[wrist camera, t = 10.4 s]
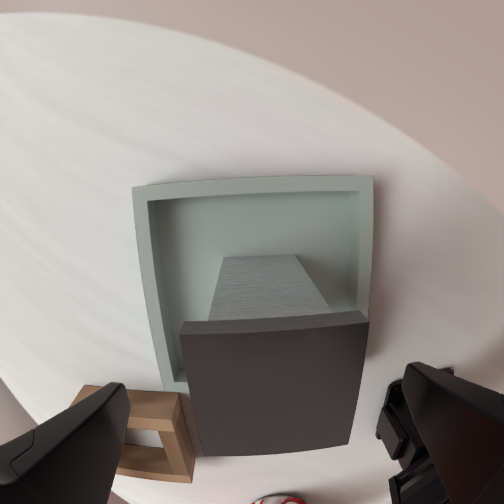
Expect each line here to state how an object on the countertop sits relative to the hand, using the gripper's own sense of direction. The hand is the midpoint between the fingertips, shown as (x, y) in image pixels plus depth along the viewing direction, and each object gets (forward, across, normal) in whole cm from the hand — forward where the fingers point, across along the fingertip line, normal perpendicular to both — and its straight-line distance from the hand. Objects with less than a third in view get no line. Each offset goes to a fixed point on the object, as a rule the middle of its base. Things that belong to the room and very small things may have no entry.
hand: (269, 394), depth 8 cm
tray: (+10, 0, 0) cm, 10 cm away
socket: (+10, +10, +12) cm, 19 cm away
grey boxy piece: (+10, 0, 0) cm, 10 cm away
